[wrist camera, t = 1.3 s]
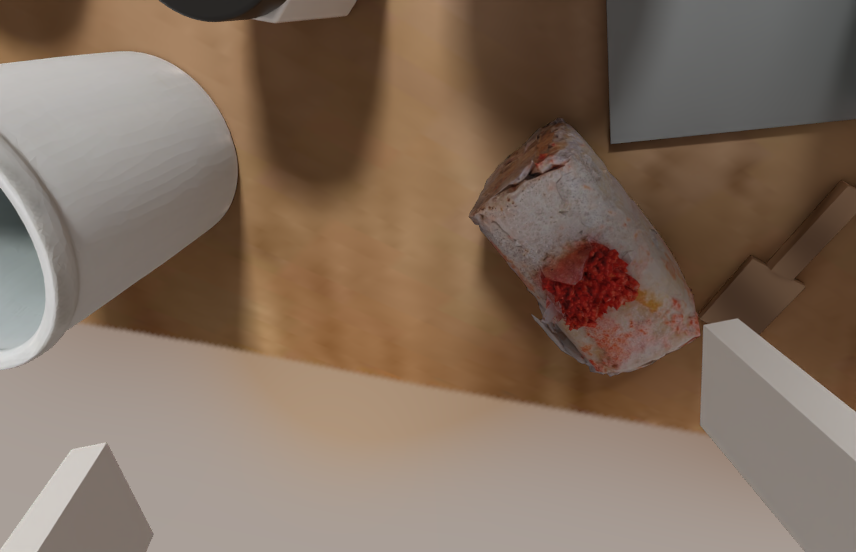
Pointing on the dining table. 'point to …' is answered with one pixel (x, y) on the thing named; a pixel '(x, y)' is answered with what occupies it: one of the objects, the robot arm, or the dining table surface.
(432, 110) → the dining table surface
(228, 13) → the jar
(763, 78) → the mat
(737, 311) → the spatula
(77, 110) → the utensil holder
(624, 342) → the food item
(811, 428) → the robot arm
